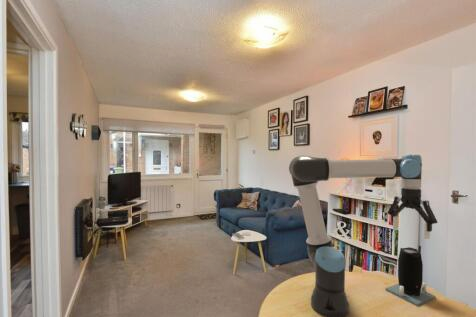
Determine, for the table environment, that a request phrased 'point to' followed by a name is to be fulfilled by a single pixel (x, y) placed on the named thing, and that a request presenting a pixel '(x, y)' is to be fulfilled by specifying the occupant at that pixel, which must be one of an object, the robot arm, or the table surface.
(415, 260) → the portable speaker
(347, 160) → the robot arm
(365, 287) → the table surface
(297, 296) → the table surface
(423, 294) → the pin pad
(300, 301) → the table surface
